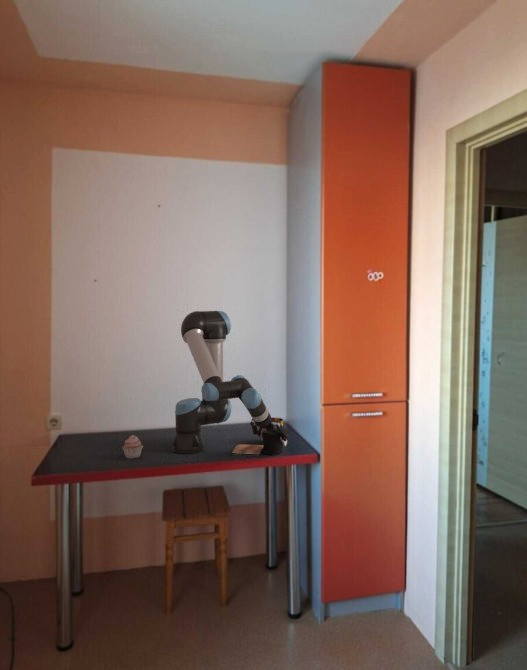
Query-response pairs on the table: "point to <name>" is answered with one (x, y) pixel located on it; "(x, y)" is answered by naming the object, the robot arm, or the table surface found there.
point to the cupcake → (132, 447)
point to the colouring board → (248, 449)
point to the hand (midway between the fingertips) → (275, 442)
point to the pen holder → (272, 443)
